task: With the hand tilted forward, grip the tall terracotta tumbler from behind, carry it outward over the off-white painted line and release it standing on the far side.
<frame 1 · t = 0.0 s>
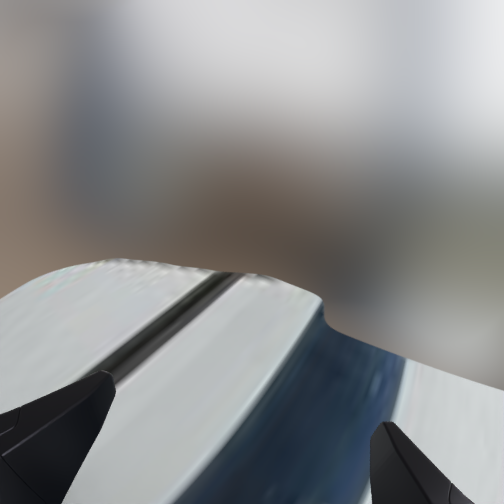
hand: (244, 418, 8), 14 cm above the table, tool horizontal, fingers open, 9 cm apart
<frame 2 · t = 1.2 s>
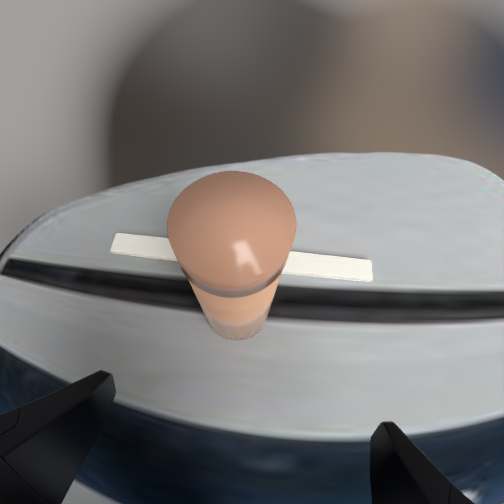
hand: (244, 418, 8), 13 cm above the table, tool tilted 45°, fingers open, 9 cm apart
line: (238, 258, 25), on the table
tumbler: (236, 309, 23), on the table
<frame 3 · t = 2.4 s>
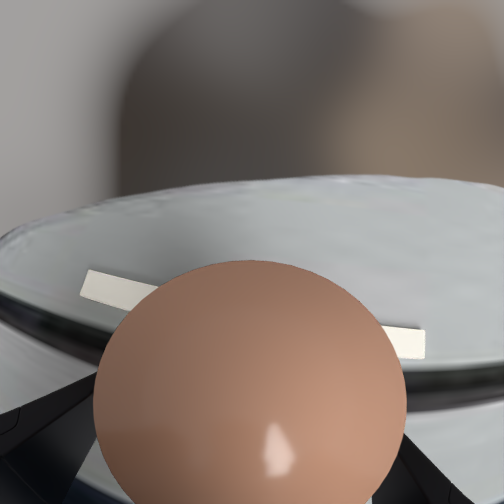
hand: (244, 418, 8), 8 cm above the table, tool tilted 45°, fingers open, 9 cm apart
line: (252, 323, 17), on the table
tumbler: (245, 397, 15), on the table
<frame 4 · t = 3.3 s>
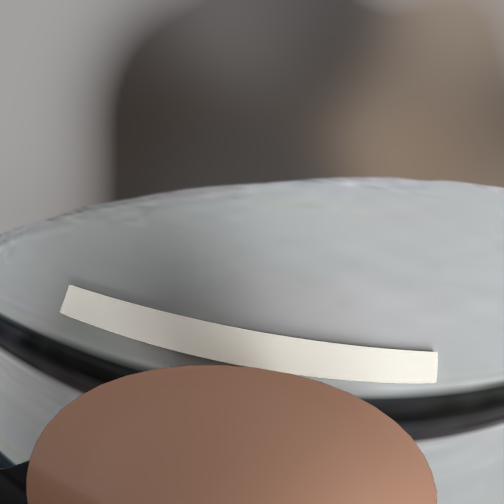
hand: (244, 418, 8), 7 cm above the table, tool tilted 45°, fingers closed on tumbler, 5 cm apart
line: (247, 348, 15), on the table
tumbler: (239, 429, 13), on the table, touching gripper
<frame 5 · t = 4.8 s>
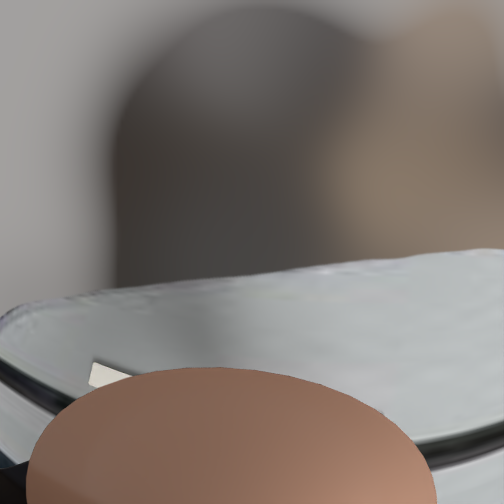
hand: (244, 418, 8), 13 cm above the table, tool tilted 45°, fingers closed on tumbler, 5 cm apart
line: (234, 415, 19), on the table
tumbler: (239, 430, 13), point 6 cm above the table, touching gripper
when the fingers open (7 cm above the table, at t = 6.5 s): tumbler stays where it is, on the table.
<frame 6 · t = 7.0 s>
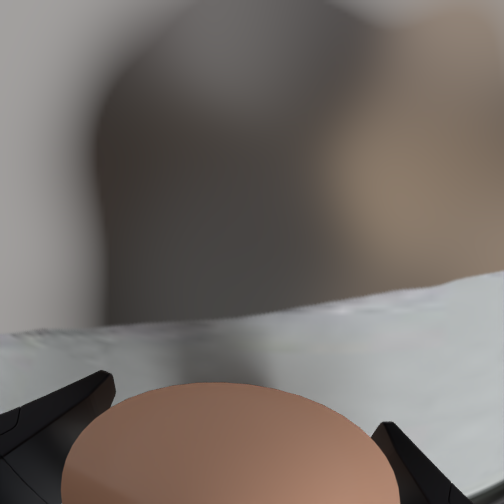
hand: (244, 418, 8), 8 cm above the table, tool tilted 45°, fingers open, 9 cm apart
tumbler: (238, 429, 14), on the table
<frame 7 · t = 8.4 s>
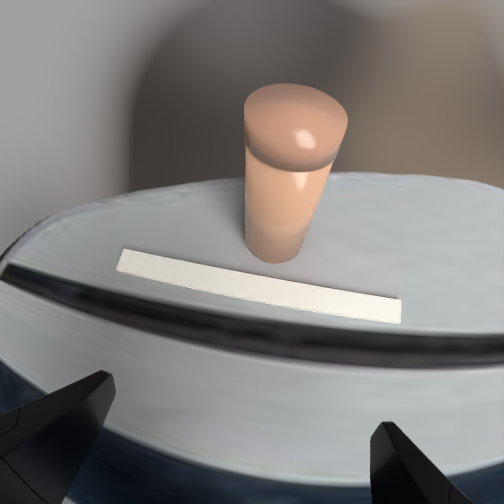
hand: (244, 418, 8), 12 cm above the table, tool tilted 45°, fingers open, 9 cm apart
line: (259, 289, 22), on the table
tumbler: (274, 236, 25), on the table
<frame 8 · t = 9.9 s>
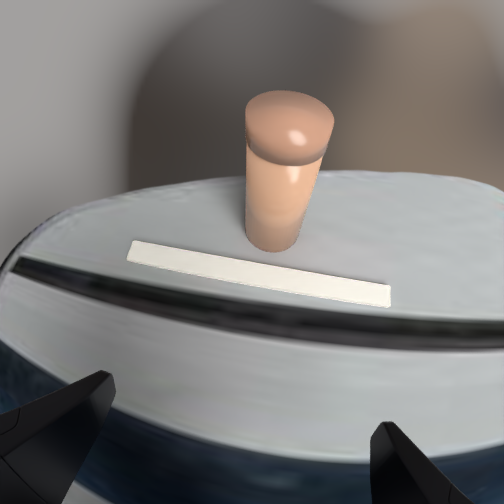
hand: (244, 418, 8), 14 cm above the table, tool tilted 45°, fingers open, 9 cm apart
line: (258, 276, 25), on the table
tumbler: (272, 228, 27), on the table
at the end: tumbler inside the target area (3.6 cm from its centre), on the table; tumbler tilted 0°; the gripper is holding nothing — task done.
